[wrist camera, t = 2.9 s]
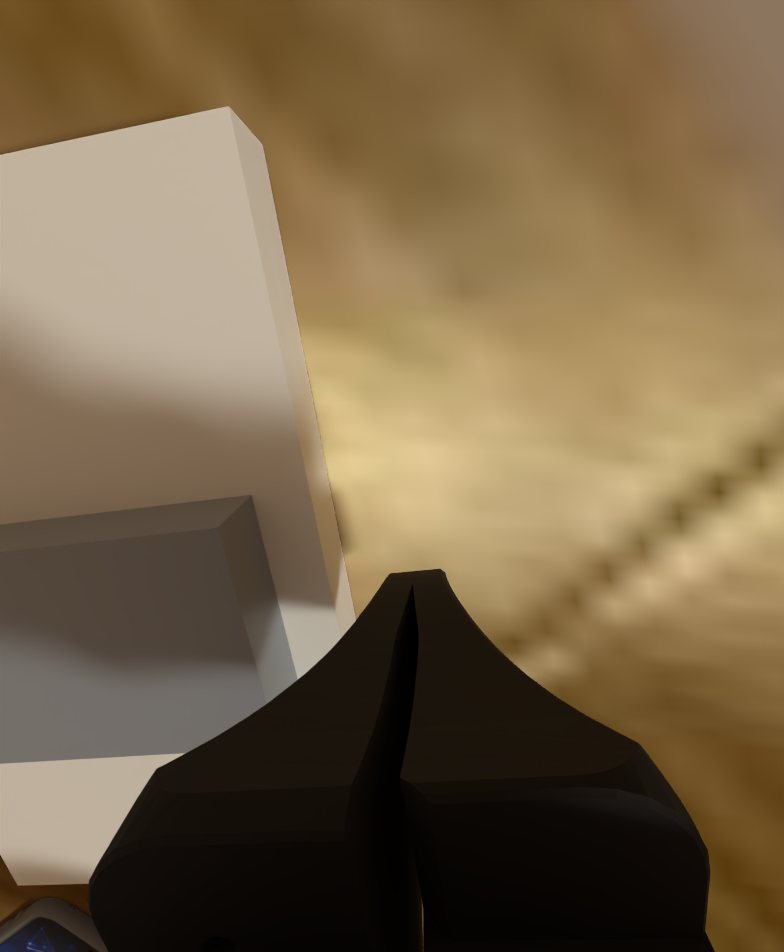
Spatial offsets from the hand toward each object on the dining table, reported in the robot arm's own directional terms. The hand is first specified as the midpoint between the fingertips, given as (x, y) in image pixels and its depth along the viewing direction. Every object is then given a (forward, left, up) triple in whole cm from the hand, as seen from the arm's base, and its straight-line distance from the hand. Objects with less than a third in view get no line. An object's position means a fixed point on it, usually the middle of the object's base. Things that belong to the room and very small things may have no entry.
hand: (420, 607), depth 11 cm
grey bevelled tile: (0, +8, -1) cm, 8 cm away
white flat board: (0, +9, -3) cm, 10 cm away
